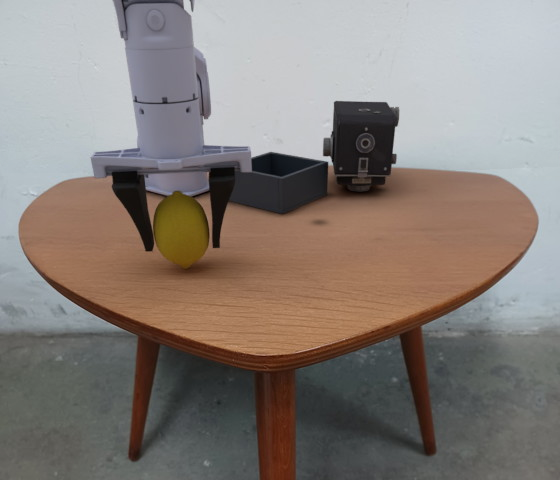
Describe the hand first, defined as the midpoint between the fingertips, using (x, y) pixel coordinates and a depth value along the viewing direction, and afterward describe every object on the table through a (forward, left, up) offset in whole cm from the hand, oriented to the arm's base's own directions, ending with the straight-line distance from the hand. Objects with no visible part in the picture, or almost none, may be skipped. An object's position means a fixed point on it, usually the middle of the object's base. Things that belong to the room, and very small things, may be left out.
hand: (183, 246), depth 56 cm
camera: (-2, +37, -3) cm, 37 cm away
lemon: (0, 0, -3) cm, 3 cm away
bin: (-8, +24, -2) cm, 26 cm away
